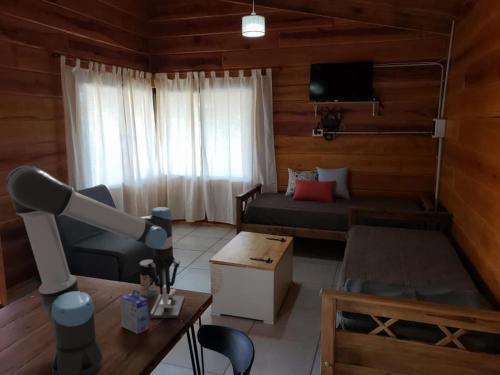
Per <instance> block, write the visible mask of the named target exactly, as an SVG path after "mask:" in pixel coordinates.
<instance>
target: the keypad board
mask: <svg viewBox="0 0 500 375" xmlns="http://www.w3.org/2000/svg"><path fill="white" fill-rule="evenodd" d="M161 300H163V298H162V294H160V293H159V294H158V296H157V298H156V300H155V303H154V305H153V307H152V309H151V311H150V315H149V317H150V318H151V319H172V318H174V319H177V318H179V317H180V316H179V315H180V313H181V310H182V307H183V304H184V301H185V295H174V296H172V298H168V300H171V305H170V307H167V308H160V302H161Z"/></svg>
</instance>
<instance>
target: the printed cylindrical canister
mask: <svg viewBox="0 0 500 375" xmlns="http://www.w3.org/2000/svg"><path fill="white" fill-rule="evenodd" d="M151 261H153V259H143V260H141V261H140V262H139V276H140V291H141V297H144V298H146V297H148V298H149V297H153V296H155V295H156V294H157V286H155V283H154V280H153V277H152V274H151V271H150V269H149V267H148V266H147V265H148V263H149V262H151ZM154 267H155V268H156V265H155V264H154Z"/></svg>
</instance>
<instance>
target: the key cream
mask: <svg viewBox="0 0 500 375" xmlns="http://www.w3.org/2000/svg"><path fill="white" fill-rule="evenodd" d="M170 305H171V300H168V301H167V303H163V300H161V302H160V308H167V307H170Z"/></svg>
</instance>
